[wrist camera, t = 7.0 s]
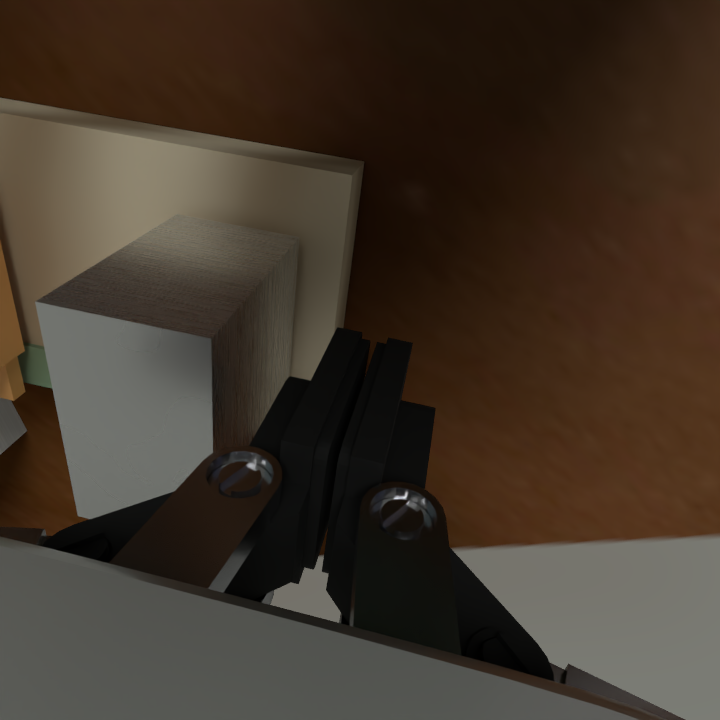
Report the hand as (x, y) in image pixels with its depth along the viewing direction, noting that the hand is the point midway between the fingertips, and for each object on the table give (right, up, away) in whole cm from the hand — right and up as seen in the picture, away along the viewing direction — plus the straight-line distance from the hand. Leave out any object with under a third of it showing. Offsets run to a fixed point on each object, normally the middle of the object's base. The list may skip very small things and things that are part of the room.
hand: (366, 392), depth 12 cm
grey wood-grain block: (-3, +2, +2) cm, 4 cm away
